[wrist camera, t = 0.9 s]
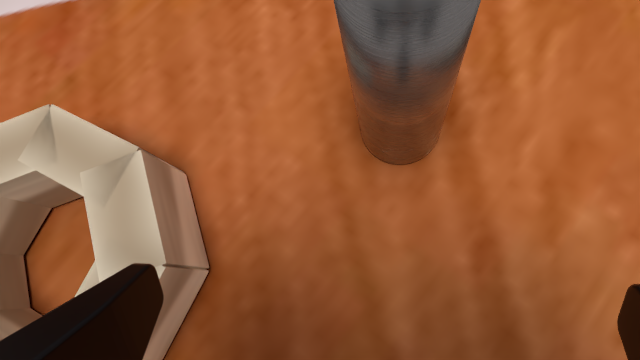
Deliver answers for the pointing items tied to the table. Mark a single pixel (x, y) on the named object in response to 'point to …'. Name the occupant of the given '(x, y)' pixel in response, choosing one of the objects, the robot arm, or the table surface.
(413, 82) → the bottle
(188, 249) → the cream octagonal ring
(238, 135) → the table surface
